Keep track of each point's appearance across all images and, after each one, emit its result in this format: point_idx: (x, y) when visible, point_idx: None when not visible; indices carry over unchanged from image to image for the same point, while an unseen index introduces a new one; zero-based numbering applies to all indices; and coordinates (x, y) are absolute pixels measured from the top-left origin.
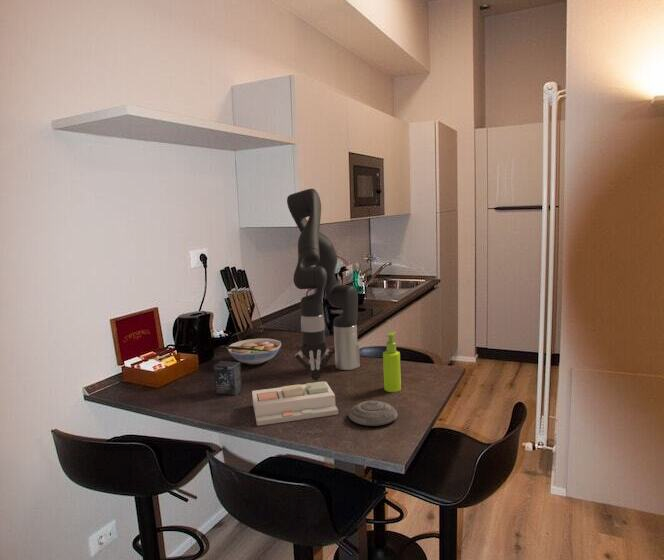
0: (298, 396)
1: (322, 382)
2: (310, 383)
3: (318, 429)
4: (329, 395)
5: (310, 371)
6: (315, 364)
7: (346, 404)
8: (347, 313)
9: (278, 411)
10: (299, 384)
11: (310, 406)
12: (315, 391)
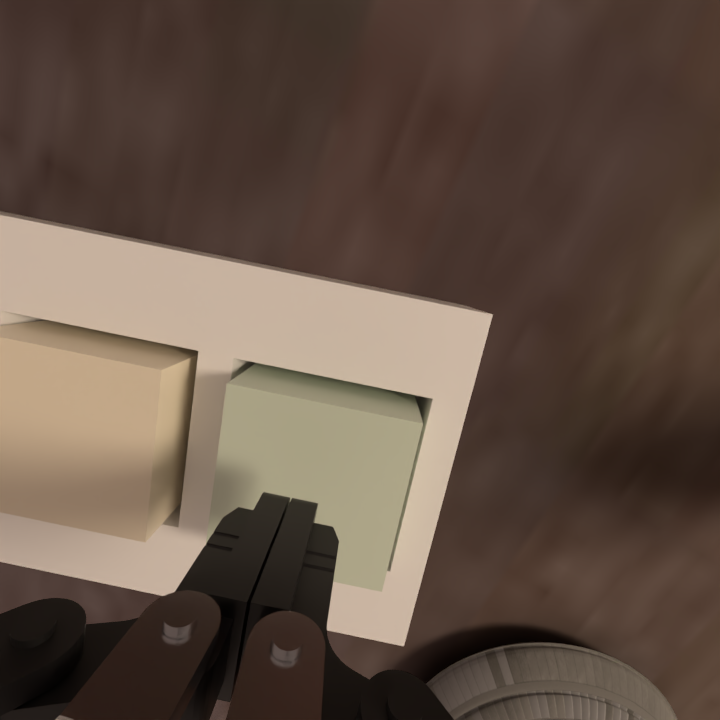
0: None
1: (397, 448)
2: (272, 407)
3: (216, 704)
4: (360, 631)
5: (185, 583)
6: (244, 700)
7: (500, 517)
8: None
9: None
10: (155, 373)
11: None
12: None
